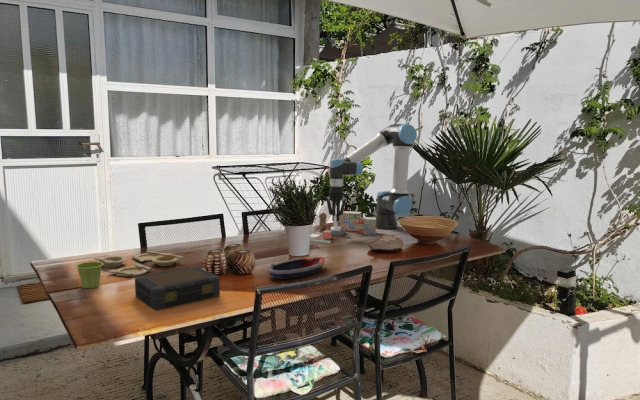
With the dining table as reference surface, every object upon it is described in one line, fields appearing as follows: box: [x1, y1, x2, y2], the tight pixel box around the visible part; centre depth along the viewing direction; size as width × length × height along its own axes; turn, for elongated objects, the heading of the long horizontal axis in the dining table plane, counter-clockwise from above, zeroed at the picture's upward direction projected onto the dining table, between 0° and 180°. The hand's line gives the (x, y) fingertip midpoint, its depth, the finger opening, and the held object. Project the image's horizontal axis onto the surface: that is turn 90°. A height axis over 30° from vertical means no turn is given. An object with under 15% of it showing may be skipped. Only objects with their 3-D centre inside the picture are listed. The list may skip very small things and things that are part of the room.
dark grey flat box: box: [134, 265, 221, 311], centre depth 181 cm, size 25×20×8 cm
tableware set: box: [93, 250, 184, 277], centre depth 223 cm, size 35×29×4 cm
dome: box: [330, 225, 341, 231], centre depth 285 cm, size 6×6×4 cm
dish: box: [267, 256, 326, 280], centre depth 212 cm, size 16×31×5 cm, turn 132°
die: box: [322, 231, 332, 240], centre depth 274 cm, size 4×4×4 cm
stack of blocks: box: [338, 210, 377, 236], centre depth 296 cm, size 21×6×12 cm, turn 73°
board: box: [310, 227, 347, 245], centre depth 281 cm, size 17×24×4 cm
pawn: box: [317, 212, 328, 233], centre depth 291 cm, size 5×5×11 cm
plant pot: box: [75, 261, 104, 289], centre depth 191 cm, size 9×9×9 cm
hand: (335, 226), depth 285 cm, fingers closed
